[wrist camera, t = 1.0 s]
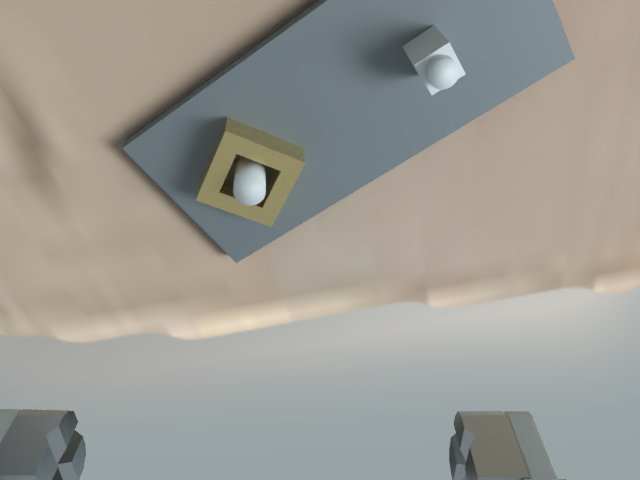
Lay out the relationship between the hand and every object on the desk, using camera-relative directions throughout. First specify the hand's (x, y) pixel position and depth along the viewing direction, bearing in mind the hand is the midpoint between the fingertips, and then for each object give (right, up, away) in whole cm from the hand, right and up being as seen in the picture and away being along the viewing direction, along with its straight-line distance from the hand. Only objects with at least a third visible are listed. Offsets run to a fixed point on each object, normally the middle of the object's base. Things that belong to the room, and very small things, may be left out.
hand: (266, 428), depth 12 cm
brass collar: (-4, +10, +33) cm, 35 cm away
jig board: (+3, +15, +32) cm, 35 cm away
